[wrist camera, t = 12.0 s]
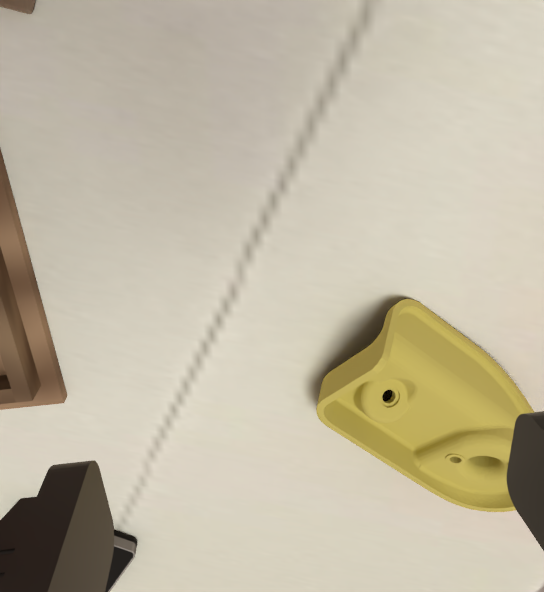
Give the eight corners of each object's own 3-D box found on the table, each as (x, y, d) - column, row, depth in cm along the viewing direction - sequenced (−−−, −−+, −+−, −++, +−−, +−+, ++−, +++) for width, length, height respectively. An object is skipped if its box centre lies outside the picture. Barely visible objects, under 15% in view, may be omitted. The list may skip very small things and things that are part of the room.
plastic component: (303, 411, 41) (392, 357, 35) (319, 344, 47) (398, 286, 40) (476, 521, 46) (582, 491, 40) (472, 449, 51) (566, 412, 45)
